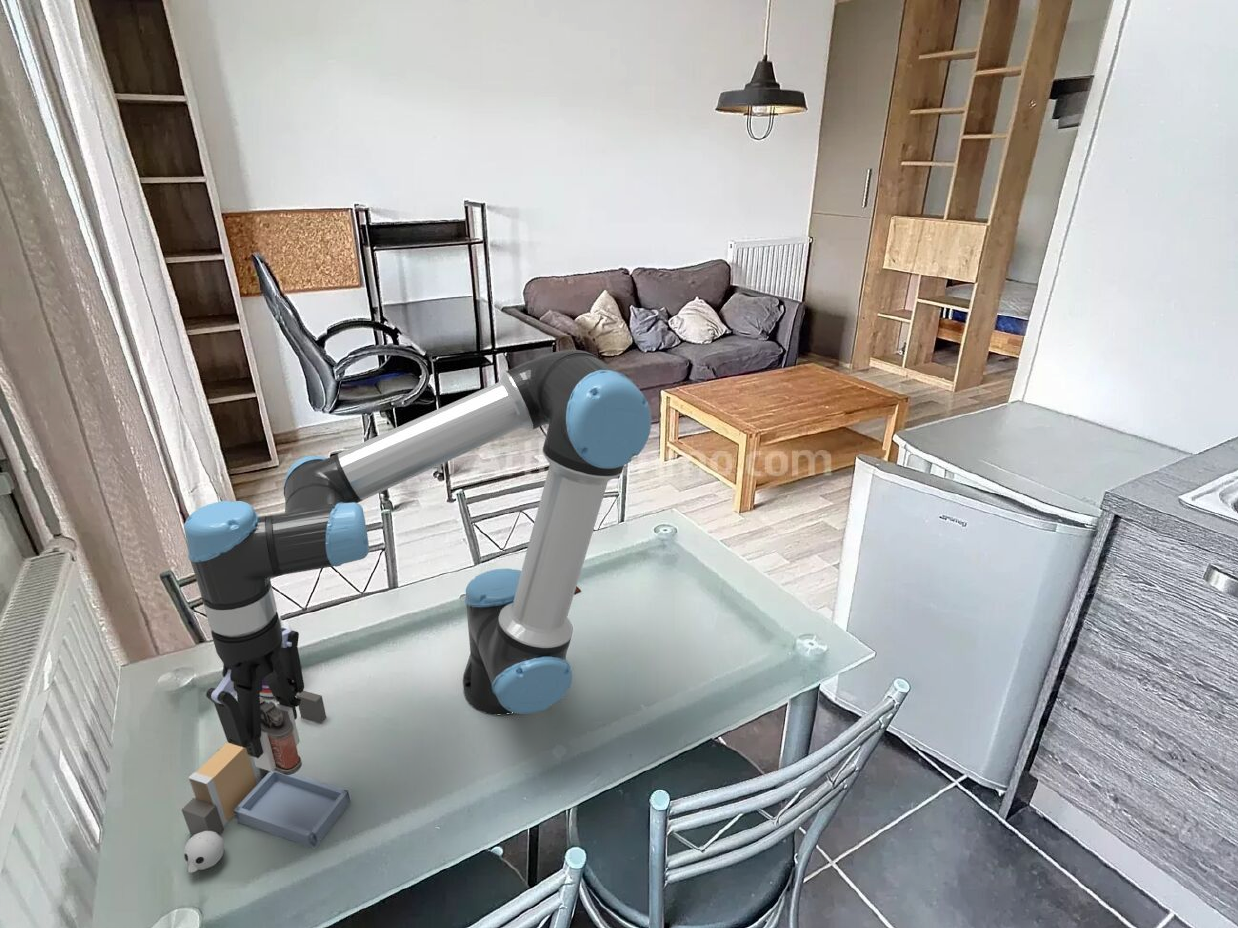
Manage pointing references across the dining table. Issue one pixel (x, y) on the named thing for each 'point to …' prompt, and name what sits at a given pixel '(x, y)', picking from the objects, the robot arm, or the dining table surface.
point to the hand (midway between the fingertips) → (278, 753)
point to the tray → (293, 807)
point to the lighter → (280, 738)
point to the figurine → (203, 850)
